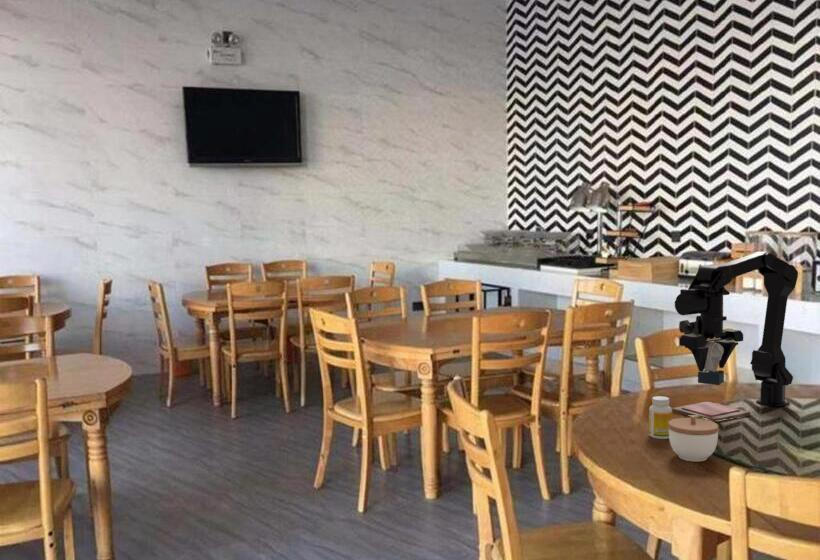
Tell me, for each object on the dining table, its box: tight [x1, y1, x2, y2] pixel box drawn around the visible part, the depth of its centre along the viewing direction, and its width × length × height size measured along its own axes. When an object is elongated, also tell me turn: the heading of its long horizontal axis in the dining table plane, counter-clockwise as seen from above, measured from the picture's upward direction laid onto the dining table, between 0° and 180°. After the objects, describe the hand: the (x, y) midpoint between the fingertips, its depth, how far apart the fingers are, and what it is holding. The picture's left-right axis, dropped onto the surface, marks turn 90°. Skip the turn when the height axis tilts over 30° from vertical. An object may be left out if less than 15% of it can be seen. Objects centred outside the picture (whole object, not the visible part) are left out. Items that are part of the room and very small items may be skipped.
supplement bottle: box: [648, 395, 673, 440], centre depth 194 cm, size 5×5×10 cm
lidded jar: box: [668, 416, 720, 463], centre depth 177 cm, size 11×11×9 cm
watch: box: [697, 341, 725, 386], centre depth 213 cm, size 6×8×11 cm
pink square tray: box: [671, 401, 751, 421], centre depth 214 cm, size 14×14×1 cm
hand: (711, 369), depth 213 cm, fingers closed on watch, 7 cm apart
